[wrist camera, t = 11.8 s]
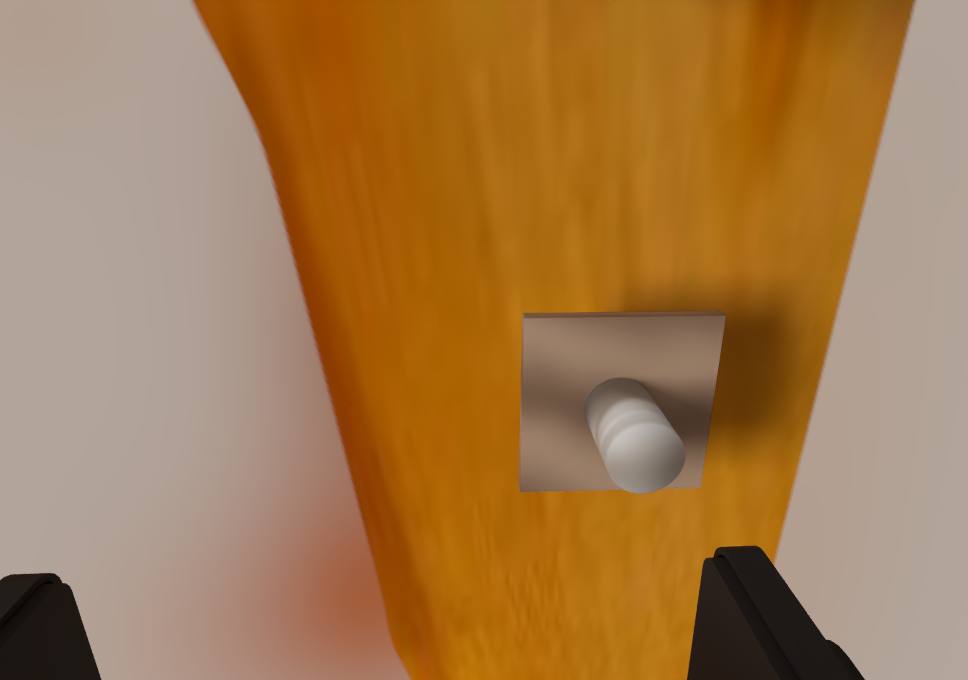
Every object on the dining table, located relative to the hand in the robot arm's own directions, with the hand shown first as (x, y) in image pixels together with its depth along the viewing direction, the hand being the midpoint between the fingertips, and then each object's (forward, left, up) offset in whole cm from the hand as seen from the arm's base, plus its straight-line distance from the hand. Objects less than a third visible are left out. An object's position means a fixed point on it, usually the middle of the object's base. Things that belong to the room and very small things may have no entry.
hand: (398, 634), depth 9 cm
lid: (+7, +9, -21) cm, 24 cm away
